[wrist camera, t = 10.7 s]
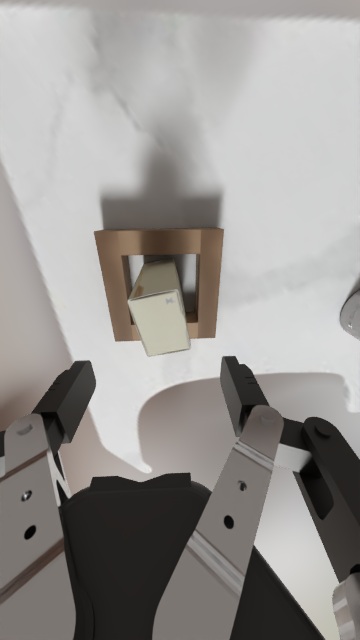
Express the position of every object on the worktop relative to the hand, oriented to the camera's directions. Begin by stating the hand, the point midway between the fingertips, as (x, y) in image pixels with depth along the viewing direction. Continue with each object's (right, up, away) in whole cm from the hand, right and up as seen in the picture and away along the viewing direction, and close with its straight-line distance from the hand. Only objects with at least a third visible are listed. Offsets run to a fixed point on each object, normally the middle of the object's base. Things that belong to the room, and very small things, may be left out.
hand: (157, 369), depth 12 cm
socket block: (-1, +8, +16) cm, 18 cm away
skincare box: (-1, +8, +16) cm, 18 cm away
